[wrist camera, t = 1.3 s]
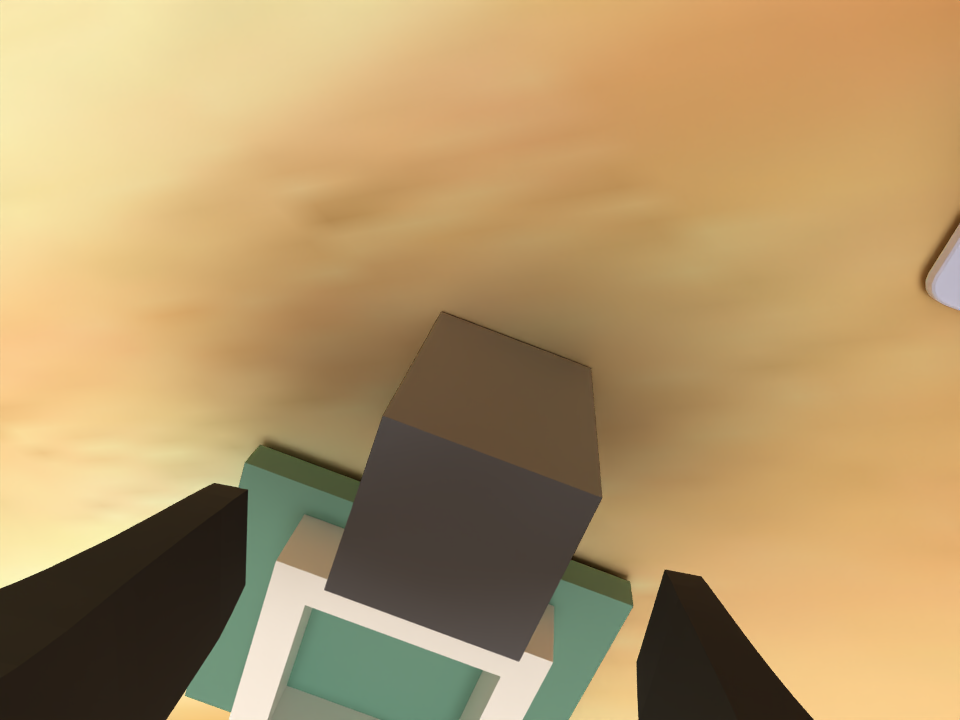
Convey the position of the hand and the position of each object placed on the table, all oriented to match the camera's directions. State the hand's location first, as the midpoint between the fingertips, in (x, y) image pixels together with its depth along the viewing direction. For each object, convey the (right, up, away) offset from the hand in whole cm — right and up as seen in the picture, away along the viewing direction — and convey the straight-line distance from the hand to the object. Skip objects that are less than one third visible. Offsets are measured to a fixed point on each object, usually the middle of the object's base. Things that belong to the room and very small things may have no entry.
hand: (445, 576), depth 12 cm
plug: (+1, +2, +6) cm, 7 cm away
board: (-2, -4, +9) cm, 10 cm away
